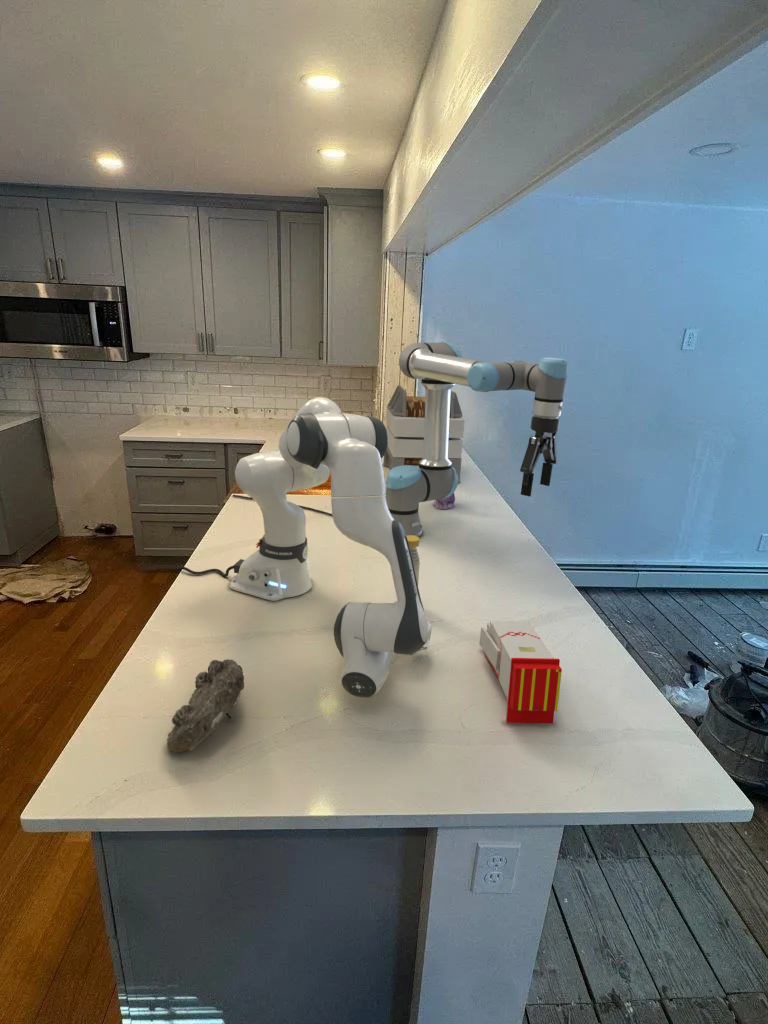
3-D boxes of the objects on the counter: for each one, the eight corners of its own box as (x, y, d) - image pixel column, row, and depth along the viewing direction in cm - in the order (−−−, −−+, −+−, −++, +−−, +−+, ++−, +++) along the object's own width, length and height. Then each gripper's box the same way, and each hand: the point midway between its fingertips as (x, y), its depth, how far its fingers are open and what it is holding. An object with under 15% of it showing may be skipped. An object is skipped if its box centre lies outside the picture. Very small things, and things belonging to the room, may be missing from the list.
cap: (417, 548, 144) (417, 542, 143) (401, 546, 145) (401, 540, 144) (420, 542, 148) (420, 536, 147) (404, 540, 148) (404, 534, 148)
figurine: (441, 511, 224) (444, 474, 219) (427, 503, 232) (430, 467, 227) (461, 508, 228) (464, 472, 223) (447, 500, 237) (450, 465, 232)
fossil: (192, 660, 117) (244, 628, 112) (224, 691, 120) (276, 661, 115) (142, 746, 98) (202, 712, 93) (182, 779, 101) (242, 748, 96)
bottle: (414, 611, 149) (419, 544, 143) (395, 608, 150) (399, 542, 144) (418, 602, 154) (422, 537, 147) (399, 599, 155) (403, 534, 148)
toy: (526, 605, 135) (570, 665, 105) (521, 658, 137) (563, 730, 108) (475, 604, 134) (506, 664, 105) (472, 657, 137) (500, 729, 108)
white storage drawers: (382, 463, 289) (386, 382, 275) (445, 464, 293) (451, 384, 279) (390, 482, 257) (394, 392, 243) (460, 483, 261) (468, 394, 247)
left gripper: (427, 639, 121) (437, 607, 133) (336, 622, 125) (354, 593, 138) (425, 664, 123) (435, 631, 135) (335, 646, 127) (353, 616, 140)
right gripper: (541, 424, 144) (530, 503, 151) (575, 413, 163) (563, 483, 170) (513, 419, 148) (504, 496, 155) (550, 409, 167) (540, 478, 174)
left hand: (394, 612), depth 136 cm, fingers open, 8 cm apart
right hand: (535, 490), depth 163 cm, fingers open, 13 cm apart
